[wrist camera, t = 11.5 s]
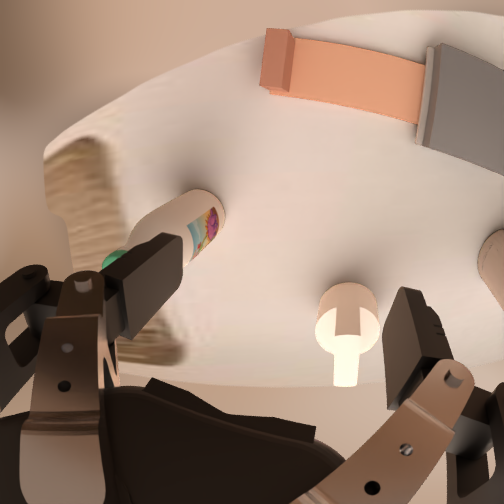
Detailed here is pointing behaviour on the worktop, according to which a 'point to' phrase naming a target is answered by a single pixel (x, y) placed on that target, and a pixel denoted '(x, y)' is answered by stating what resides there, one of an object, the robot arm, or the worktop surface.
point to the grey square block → (463, 108)
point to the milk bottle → (179, 224)
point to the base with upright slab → (347, 328)
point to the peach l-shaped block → (342, 75)
